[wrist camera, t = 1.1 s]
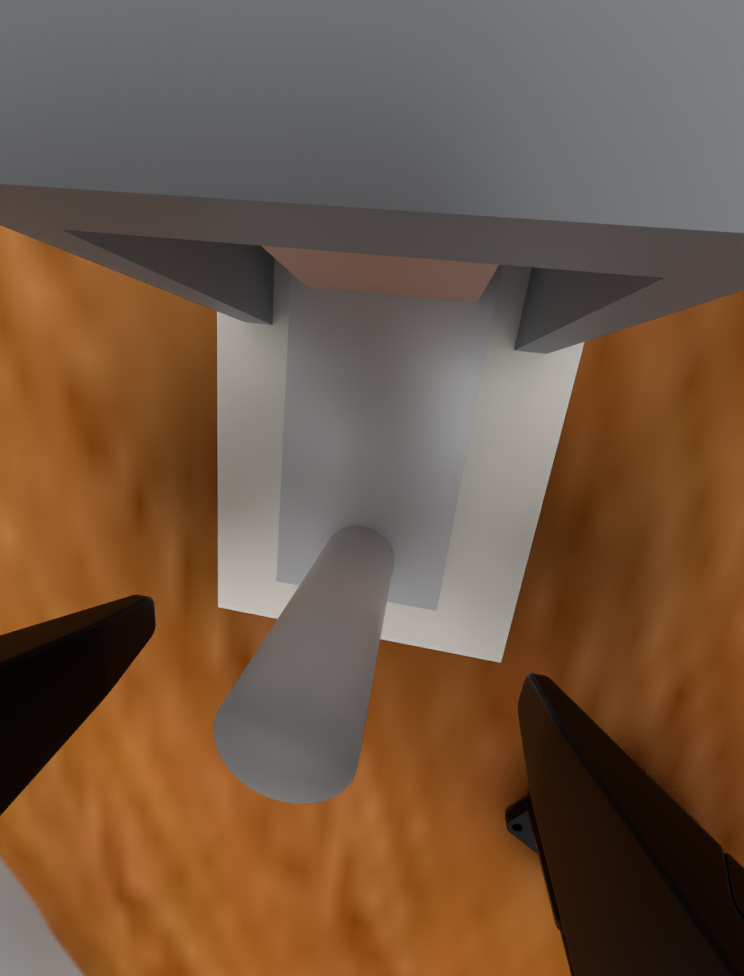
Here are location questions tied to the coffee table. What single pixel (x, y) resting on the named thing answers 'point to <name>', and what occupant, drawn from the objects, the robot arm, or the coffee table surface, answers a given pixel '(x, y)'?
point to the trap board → (483, 492)
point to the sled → (356, 498)
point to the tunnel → (386, 144)
